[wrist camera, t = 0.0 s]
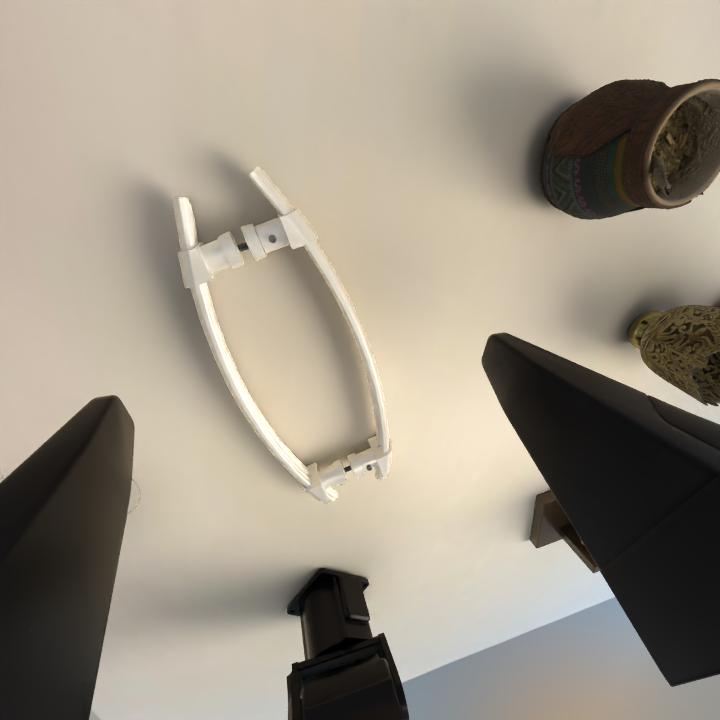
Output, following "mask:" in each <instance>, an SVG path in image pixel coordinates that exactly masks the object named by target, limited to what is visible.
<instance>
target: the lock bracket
mask: <svg viewBox="0 0 720 720" xmlns="http://www.w3.org/2000/svg"><path fill="white" fill-rule="evenodd" d="M561 539H564V541H565V542H566V543H567V544H568V545H569V546H570V547H571V548H572V550H573V551H574V552H575V553H576V554H577V555H578V556H579V558H580V559H581V560H582V561H583V562H584V563H585V564H586V565H587V567H588V568H589V569H590V570H591V571H592V572H593V573H595V572H598V571H600V569H599V568H598V567H597V565H596V563H595V562H594V560H593V558H592V557H591V555H590V553H589V552H588V550H587V548H586V547H585V545H583V544H582V543H581V538H580V537H579V535H578V533H577V532H576V530H575V529H574V527H573V525H572V524H571V522H570V520H569V519H568V517H567V515H566V514H565V512H564V510H563V509H562V507H561V505H560V504H559V502H558V500H557V499H556V497H555V495H554V494H553V492H552V491H549V492H546V493H543V494H540V495H537V499H536V506H535V512H534V519H533V525H532V532H531V538H530V541H531V542H532V543H533V545H534V546H535V547H536V548H539V547H542V546H545V545H547V544H550V543H553V542H555V541H558V540H561Z"/></svg>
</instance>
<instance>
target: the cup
mask: <svg viewBox="0 0 720 720" xmlns="http://www.w3.org/2000/svg"><path fill="white" fill-rule="evenodd" d="M629 340H630V342H631V344H632V345H633V346H634V347H636V348H638V349H640V353H641V357H642V359H643V361H644V363H645V364H646V365H647V366H648V368H649V369H651V370H652V371H653V372H654V373H655V374H657V375H658V376H660V377H661V378H663V379H664V380H666V381H667V382H669V383H670V384H672V385H674V386H675V387H677V388H679V389H680V390H682V391H684V392H685V393H687V394H688V395H690V396H692V397H693V398H695V399H697V400H698V401H700V402H701V403H704V404H705V405H707V406H708V404H707V403H709V404H711V405H714V406H719V405H718V404H717V403H720V308H719V307H711V306H701V305H688V306H681V307H676V308H673V309H671V310H668V311H666V312H662V311H650V312H646V313H644V314H642V315H641V316H639V317H638V318H637V319H636V320H635V321H634V323H633V324H632V326H631V328H630V330H629Z"/></svg>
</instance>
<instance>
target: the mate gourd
mask: <svg viewBox="0 0 720 720" xmlns="http://www.w3.org/2000/svg"><path fill="white" fill-rule="evenodd" d="M539 172H540V173H539V174H540V183H541V188H542V190H543V194H544V196H545V197H546V199H547V200H548V201H549V203H550V204H552V205H553V206H554V207H555V208H557V209H559V210H562V211H563V212H565V213H567V214H570V215H571V216H573V217H577V218H580V219H590V220H592V219H603V218H607V217H613V216H616V215H620V214H623V213H626V212H631V211H635V210H640V209H643V208H660V209H672V208H677V207H681V206H683V205H686V204H688V203H690V202H691V200H692V199H693V198H695V197H698V195H701V194H702V195H703V191H704V190H706V189H707V188H708V187H709V186H710V184H711V183H712V182H713V181H714V179H715V178H716V177H717V175H718V174H719V172H720V80H718V79H704V80H701V81H700V80H699V81H698V82H695V83H690V84H684V85H677V86H674V87H672V88H670V87H668V86H667V85H666V84H665V83H663V82H659V81H657V82H656V81H654V80H652V81H650V80H649V79H648V80H645V79H643V80H641V79H640V80H619V81H615V82H612V83H610V84H607V85H605V86H603V87H601V88H599V89H598V90H595V91H594V92H592V93H590V94H589V95H587V96H586V97H584V98H583V99H581V100H580V101H578V102H576V103H575V104H573V105H571V106H570V107H569V108H568V109H566V110H565V111H564V112H563V113H562V114H561V115H560V116H559V117H558V119H557V120H556V121H555V123H554V124H553V126H552V127H551V129H550V131H549V133H548V135H547V138H546V141H545V144H544V148H543V151H542V155H541V160H540V171H539Z"/></svg>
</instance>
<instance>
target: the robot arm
mask: <svg viewBox="0 0 720 720" xmlns="http://www.w3.org/2000/svg"><path fill="white" fill-rule="evenodd" d="M482 365H483V368H484V370H485V372H486V374H487V377H488V379H489V381H490V383H491V385H492V387H493V389H494V392H495V394H496V396H497V398H498V400H499V402H500V404H501V406H502V408H503V410H504V412H505V414H506V416H507V418H508V419H509V421H510V423H511V424H512V426H513V428H514V429H515V431H516V433H517V434H518V436H519V438H520V439H521V441H522V443H523V444H524V446H525V448H526V449H527V451H528V452H529V454H530V456H531V457H532V459H533V461H534V462H535V464H536V466H537V467H538V469H539V471H540V472H541V474H542V476H543V477H544V479H545V481H546V482H547V484H548V486H549V487H550V489H551V490H552V492H553V494H554V495H555V497H556V499H557V500H558V502H559V504H560V505H561V507H562V509H563V510H564V512H565V514H566V515H567V517H568V519H569V520H570V522H571V524H572V525H573V527H574V529H575V530H576V532H577V533H578V535H579V537H580V538H581V540H582V542H583V543H584V545H585V547H586V548H587V550H588V552H589V553H590V555H591V557H592V558H593V560H594V562H595V563H596V565H597V567H598V568H599V569H600V572H601V574H602V575H603V577H604V578H605V580H606V582H607V583H608V585H609V587H610V588H611V590H612V592H613V593H614V595H615V597H616V598H617V600H618V601H619V603H620V605H621V607H622V608H623V610H624V612H625V613H626V615H627V617H628V618H629V620H630V621H631V623H632V625H633V626H634V628H635V629H636V631H637V633H638V635H639V636H640V638H641V640H642V641H643V643H644V645H645V646H646V648H647V650H648V651H649V653H650V655H651V656H652V658H653V659H654V661H655V663H656V664H657V666H658V668H659V669H660V671H661V673H662V674H663V676H664V677H665V679H666V680H667V681H668V683H669V684H670V686H672V687H674V686H677V685H681V684H685V683H689V682H692V681H696V680H700V679H704V678H707V677H711V676H714V675H718V674H720V425H719V424H717V423H714V422H712V421H709V420H707V419H704V418H702V417H699V416H696V415H694V414H691V413H689V412H687V411H684V410H682V409H680V408H677V407H675V406H673V405H670V404H668V403H665V402H663V401H661V400H659V399H656V398H654V397H652V396H649V395H648V396H647V395H646V394H645V393H643V392H640V391H638V390H636V389H633V388H631V387H629V386H627V385H624V384H622V383H620V382H617V381H615V380H613V379H611V378H608V377H606V376H604V375H601V374H599V373H597V372H595V371H592V370H590V369H588V368H585V367H583V366H581V365H579V364H576V363H574V362H572V361H569V360H567V359H565V358H563V357H560V356H558V355H556V354H553V353H551V352H549V351H547V350H544V349H542V348H540V347H538V346H535V345H533V344H531V343H528V342H526V341H524V340H522V339H519V338H517V337H515V336H512V335H510V334H508V333H498V334H492V335H491V336H490V337H489V338H488V340H487V343H486V347H485V350H484V353H483V356H482ZM133 449H134V422H133V420H132V418H131V416H130V415H129V413H128V411H127V410H126V408H125V406H124V405H123V403H122V401H121V400H120V399H119V397H117V396H115V395H111V396H104V397H98V398H95V399H93V400H91V401H90V402H89V403H88V404H87V405H86V406H85V407H83V408H82V409H81V410H80V411H79V412H78V413H77V414H76V415H75V416H74V417H72V418H71V419H70V420H69V421H68V422H67V423H66V424H65V425H64V426H63V427H61V428H60V429H59V430H58V431H57V432H56V433H55V434H54V435H53V436H52V437H50V438H49V439H48V440H47V441H46V442H45V443H44V444H43V445H42V446H41V447H40V448H38V449H37V450H36V451H35V452H34V453H33V454H32V455H31V456H30V457H29V458H27V459H26V460H25V461H24V462H23V463H22V464H21V465H20V466H19V467H18V468H16V469H15V470H14V471H13V472H12V473H11V474H10V475H9V476H8V477H7V478H5V479H4V480H3V481H2V482H1V483H0V720H89V716H90V711H91V706H92V700H93V695H94V689H95V684H96V679H97V673H98V668H99V663H100V657H101V652H102V646H103V641H104V636H105V630H106V625H107V620H108V614H109V609H110V604H111V598H112V593H113V587H114V582H115V577H116V571H117V566H118V561H119V555H120V550H121V544H122V539H123V534H124V528H125V523H126V518H127V512H128V507H129V501H130V495H131V484H132V467H133ZM368 585H369V582H368V579H366V578H362V577H357V576H353V575H349V574H344V573H340V572H336V571H331V570H327V569H321V570H319V571H318V572H317V573H316V574H315V575H314V576H313V578H312V579H311V580H310V581H309V582H308V583H307V585H306V586H305V587H304V588H303V589H302V591H301V592H300V593H299V594H298V595H297V596H296V598H295V599H294V600H293V601H292V602H291V603H290V605H289V606H288V607H287V613H288V614H290V615H297V616H300V618H301V627H302V636H303V645H304V654H305V661H303V662H300V663H298V662H296V663H293V664H292V672H291V673H290V674H289V675H288V676H287V689H288V720H409V714H408V709H407V704H406V699H405V695H404V691H403V687H402V684H401V680H400V677H399V674H398V671H397V668H396V666H395V663H394V660H393V657H392V654H391V652H390V649H389V646H388V643H387V640H386V637H385V635H384V633H381V634H378V636H376V637H372V633H371V629H370V625H369V622H368V621H369V620H370V616H369V612H368V609H367V605H366V601H365V598H364V594H363V591H364V590H365V589H366V588H367V587H368Z"/></svg>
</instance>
